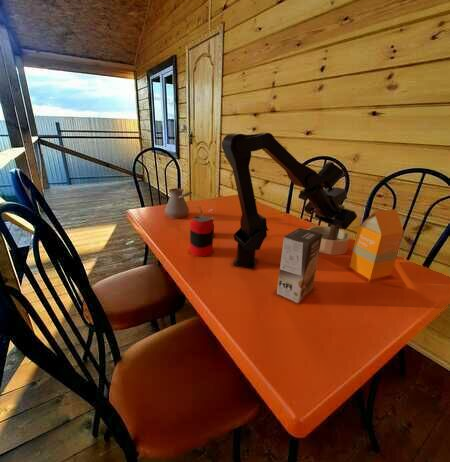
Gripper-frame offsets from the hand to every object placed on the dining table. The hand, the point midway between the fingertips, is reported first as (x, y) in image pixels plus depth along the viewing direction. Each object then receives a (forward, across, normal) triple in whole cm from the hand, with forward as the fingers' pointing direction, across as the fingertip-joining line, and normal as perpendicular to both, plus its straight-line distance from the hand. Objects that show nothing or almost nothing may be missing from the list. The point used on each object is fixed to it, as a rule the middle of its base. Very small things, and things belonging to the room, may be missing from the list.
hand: (338, 226), depth 91 cm
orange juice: (+4, -17, +8) cm, 20 cm away
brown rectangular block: (+5, +1, +6) cm, 8 cm away
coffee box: (-15, -17, +28) cm, 36 cm away
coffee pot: (-26, +49, +38) cm, 67 cm away
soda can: (-27, +13, +39) cm, 49 cm away
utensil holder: (-23, +26, +35) cm, 49 cm away
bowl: (+4, +1, +8) cm, 9 cm away
